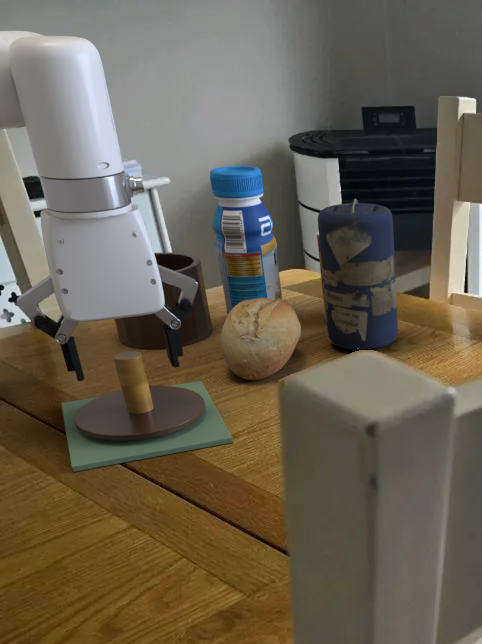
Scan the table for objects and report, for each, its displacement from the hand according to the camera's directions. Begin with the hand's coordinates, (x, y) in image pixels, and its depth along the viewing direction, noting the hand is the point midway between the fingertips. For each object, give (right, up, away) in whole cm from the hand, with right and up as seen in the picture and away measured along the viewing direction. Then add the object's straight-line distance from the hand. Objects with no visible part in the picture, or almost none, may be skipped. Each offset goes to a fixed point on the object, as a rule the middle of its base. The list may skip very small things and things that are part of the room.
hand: (128, 369), depth 88 cm
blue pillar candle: (+23, +10, +25) cm, 35 cm away
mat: (0, -5, +3) cm, 6 cm away
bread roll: (+11, +6, +19) cm, 22 cm away
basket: (-6, +13, +29) cm, 32 cm away
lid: (0, -4, +3) cm, 5 cm away
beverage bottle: (+6, +16, +33) cm, 37 cm away
